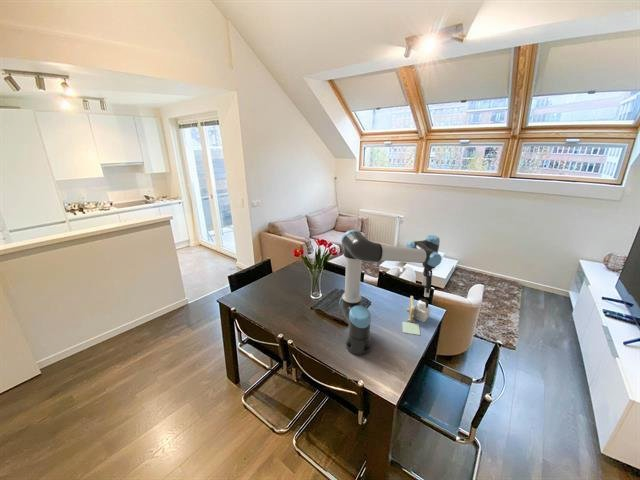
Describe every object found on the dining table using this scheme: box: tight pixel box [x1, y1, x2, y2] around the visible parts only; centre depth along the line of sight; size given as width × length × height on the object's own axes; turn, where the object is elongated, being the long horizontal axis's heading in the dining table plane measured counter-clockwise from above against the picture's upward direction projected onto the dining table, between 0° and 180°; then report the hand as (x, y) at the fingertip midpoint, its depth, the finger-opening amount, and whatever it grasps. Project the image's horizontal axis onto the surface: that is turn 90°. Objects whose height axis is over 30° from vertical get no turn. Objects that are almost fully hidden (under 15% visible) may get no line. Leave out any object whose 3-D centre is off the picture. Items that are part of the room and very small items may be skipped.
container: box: [413, 298, 431, 323], centre depth 173 cm, size 8×8×13 cm
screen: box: [406, 295, 416, 323], centre depth 175 cm, size 4×14×11 cm, turn 165°
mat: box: [401, 321, 421, 336], centre depth 165 cm, size 10×10×1 cm
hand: (425, 290), depth 168 cm, fingers open, 13 cm apart
